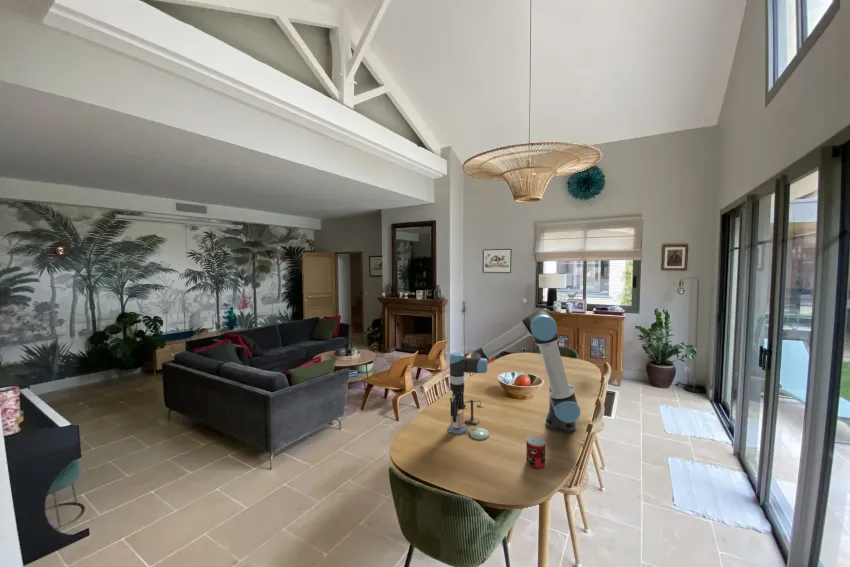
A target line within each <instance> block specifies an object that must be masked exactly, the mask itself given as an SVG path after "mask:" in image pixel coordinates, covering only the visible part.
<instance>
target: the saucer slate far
mask: <svg viewBox="0 0 850 567" xmlns="http://www.w3.org/2000/svg"><path fill="white" fill-rule="evenodd" d="M467 426H468V425H466V424H465V423H464V424H463V426H462V427H461V428H455V427H452V426H451V423H450V424H449V425H448V427H447V429H448V432H449V431H450V432H451V433H450V432H449V433H450V434H452V433H454V435H463V433H464V434H465V432H466V431H468V427H467ZM466 433H467V432H466Z"/></svg>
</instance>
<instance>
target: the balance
mask: <svg viewBox="0 0 850 567" xmlns="http://www.w3.org/2000/svg"><path fill="white" fill-rule="evenodd" d="M481 402H482V401H481V399H475V400H474V399H470V400H464V408H463V409H464V410H467V409H468V405H466V403H469V404H470V417H469V416H468V417H466V418H465V420H464V423H465V422H467V423H466V424H470V423H471V424H470V425H474V424H475V425H476V426H478V424H479V423H480V419H477V418H474V403H479V404H476V408H478V409H483V408H484V407H485V405H484V404H482V403H481ZM475 425H474V426H475Z"/></svg>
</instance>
